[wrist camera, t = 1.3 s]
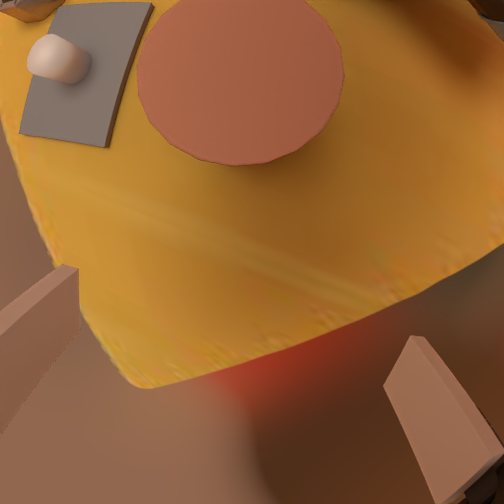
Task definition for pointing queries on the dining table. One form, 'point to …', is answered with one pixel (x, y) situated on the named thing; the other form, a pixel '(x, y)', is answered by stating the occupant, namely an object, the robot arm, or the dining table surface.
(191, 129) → the coffee jar
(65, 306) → the robot arm
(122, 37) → the grey plate with knob
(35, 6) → the mug
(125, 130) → the dining table surface
